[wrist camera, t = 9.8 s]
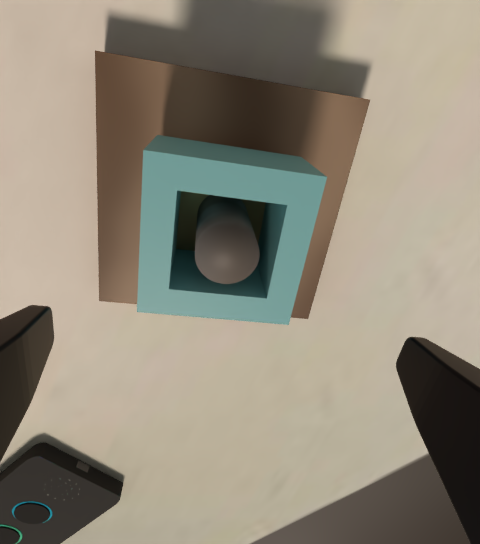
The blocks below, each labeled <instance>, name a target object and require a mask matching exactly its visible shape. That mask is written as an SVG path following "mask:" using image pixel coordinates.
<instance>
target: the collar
mask: <svg viewBox="0 0 480 544" xmlns="http://www.w3.org/2000/svg"><path fill="white" fill-rule="evenodd" d="M326 180H327V176H325V175H324V174H323V173H321V172H320V171H319V170H318V169H316V168H315V167H314V166H312V165H311V164H310V163H309V162H307V161H306V160H305V159H303V158H302V157H299V156H292V155H286V154H279V153H273V152H266V151H260V150H253V149H247V148H240V147H234V146H227V145H221V144H214V143H207V142H201V141H194V140H188V139H181V138H175V137H168V136H162V135H157V136H156V137H155V138H154V139H153V140H152V141H151V142H150V143H149V144H148V145H147V147H146V148H145V149H144V150H143V170H142V195H141V221H140V246H139V272H138V297H137V312H144V313H156V314H167V315H179V316H191V317H203V318H215V319H227V320H239V321H250V322H262V323H274V324H286V325H289V322H290V318H291V314H292V310H293V306H294V302H295V299H296V295H297V291H298V287H299V283H300V279H301V276H302V272H303V268H304V264H305V260H306V256H307V253H308V249H309V245H310V241H311V237H312V233H313V230H314V226H315V222H316V218H317V214H318V210H319V207H320V203H321V199H322V195H323V191H324V187H325V184H326ZM181 191H185V192H192V193H200V194H207V195H215V196H222V197H230V198H237V199H245V200H252V201H260V202H266V205H265V210H264V215H263V220H262V226H261V231H260V236H259V241H258V246H259V252H260V256H259V261H258V264H257V266H256V268H255V270H254V271H253V272H252V273H251V274H250V275H249V276H248V277H247V278H245V279H244V280H242V281H240V282H237V283H232V284H221V283H216V282H214V281H211V280H209V279H208V278H206V277H205V276H204V275H203V274H202V273H201V272H200V270H199V269H198V267H197V265H196V261H195V251H190V250H181V249H176V244H177V232H178V221H179V210H180V198H181Z"/></svg>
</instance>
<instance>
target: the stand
mask: <svg viewBox="0 0 480 544" xmlns="http://www.w3.org/2000/svg"><path fill="white" fill-rule="evenodd" d="M95 73H96V133H97V193H98V253H99V301H106V302H118V303H129V304H137V297H138V272H139V246H140V221H141V195H142V170H143V150H144V149H145V148H146V147H147V145H148V144H149V143H150V142H151V141H152V140H153V139H154V138H155V137H156V136H157V135H162V136H168V137H175V138H181V139H188V140H194V141H201V142H207V143H214V144H221V145H227V146H234V147H240V148H247V149H253V150H260V151H266V152H273V153H279V154H286V155H292V156H299V157H302V158H303V159H305V160H306V161H307V162H309V163H310V164H311V165H312V166H314V167H315V168H316V169H318V170H319V171H320V172H321V173H323V174H324V175H325V176H327V180H326V184H325V187H324V191H323V195H322V199H321V203H320V207H319V210H318V214H317V218H316V222H315V226H314V230H313V233H312V237H311V241H310V245H309V249H308V253H307V256H306V260H305V264H304V268H303V272H302V276H301V279H300V283H299V287H298V291H297V295H296V299H295V302H294V306H293V310H292V314H291V317H293V318H304V319H308V317H309V313H310V310H311V306H312V303H313V299H314V296H315V292H316V289H317V285H318V282H319V278H320V275H321V271H322V268H323V264H324V261H325V257H326V254H327V250H328V247H329V243H330V240H331V236H332V233H333V229H334V225H335V222H336V218H337V215H338V211H339V208H340V204H341V201H342V197H343V194H344V190H345V187H346V183H347V180H348V176H349V173H350V169H351V166H352V162H353V159H354V155H355V152H356V148H357V145H358V141H359V138H360V134H361V131H362V127H363V123H364V120H365V116H366V113H367V109H368V106H369V102H370V100H368V99H363V98H357V97H351V96H346V95H340V94H335V93H329V92H324V91H318V90H312V89H307V88H301V87H296V86H290V85H284V84H279V83H273V82H268V81H262V80H257V79H251V78H245V77H240V76H234V75H229V74H223V73H218V72H212V71H206V70H201V69H195V68H190V67H184V66H178V65H173V64H167V63H162V62H156V61H151V60H145V59H139V58H134V57H128V56H123V55H117V54H112V53H106V52H100V51H95ZM265 205H266V202H260V201H252V200H245V199H237V198H230V197H222V196H215V195H207V194H200V193H192V192H185V191H181V198H180V210H179V221H178V232H177V244H176V249H181V250H190V251H195V261H196V265H197V267H198V269H199V270H200V272H201V273H202V274H203V275H204V276H205V277H206V278H208V279H209V280H211V281H214V282H216V283H221V284H232V283H237V282H240V281H242V280H244V279H245V278H247V277H248V276H249V275H250V274H251V273H252V272H253V271H254V270H255V268H256V266H257V264H258V261H259V256H260V252H259V246H258V241H259V236H260V231H261V226H262V220H263V215H264V210H265Z"/></svg>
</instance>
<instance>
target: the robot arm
mask: <svg viewBox="0 0 480 544" xmlns="http://www.w3.org/2000/svg"><path fill="white" fill-rule="evenodd" d="M53 341H54V329H53V317H52V311H51V308H50V307H48V306H37V305H31V306H28V307H26V308H24V309H22V310H20V311H17V312H15V313H13V314H11V315H9V316H7V317H5V318H2V319H0V461H1V460H2V458H3V456H4V454H5V452H6V450H7V448H8V446H9V444H10V442H11V440H12V438H13V436H14V435H15V433H16V431H17V429H18V427H19V425H20V423H21V421H22V419H23V417H24V415H25V413H26V411H27V409H28V407H29V405H30V403H31V401H32V398H33V396H34V393H35V391H36V388H37V385H38V383H39V380H40V377H41V375H42V372H43V369H44V367H45V364H46V361H47V359H48V356H49V354H50V351H51V348H52V345H53ZM396 368H397V372H398V375H399V378H400V381H401V384H402V387H403V390H404V393H405V395H406V398H407V401H408V404H409V407H410V410H411V413H412V416H413V418H414V421H415V423H416V426H417V428H418V430H419V432H420V435H421V437H422V439H423V441H424V443H425V446H426V448H427V450H428V452H429V454H430V456H431V459H432V461H433V463H434V465H435V467H436V470H437V472H438V474H439V476H440V478H441V480H442V483H443V485H444V487H445V489H446V491H447V493H448V496H449V498H450V500H451V502H452V504H453V506H454V509H455V511H456V513H457V515H458V517H459V520H460V522H461V524H462V526H463V528H464V531H465V533H466V535H467V537H468V539H469V541H470V544H480V369H479V368H477V367H475V366H473V365H472V364H470V363H468V362H466V361H464V360H463V359H461V358H459V357H457V356H456V355H454V354H452V353H450V352H448V351H447V350H445V349H443V348H441V347H440V346H438V345H436V344H434V343H433V342H431V341H429V340H427V339H425V338H420V337H409V338H407V339H406V341H405V343H404V345H403V347H402V350H401V352H400V354H399V357H398V359H397V362H396Z"/></svg>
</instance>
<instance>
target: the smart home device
mask: <svg viewBox="0 0 480 544" xmlns="http://www.w3.org/2000/svg"><path fill="white" fill-rule="evenodd" d="M122 487H123V483H122V482H120V481H118V480H116V479H114V478H112V477H111V476H109V475H107V474H105V473H103V472H101V471H99V470H97V469H95V468H93V467H91V466H90V465H88V464H86V463H84V462H82V461H80V460H78V459H76V458H74V457H72V456H70V455H69V454H67V453H65V452H63V451H61V450H59V449H57V448H55V447H53V446H51V445H49V444H48V443H39V444H37V445H35V446H33V447H32V448H30V449H29V450H28V451H27V452H26V453H24V454H23V455H22V456H21V457H20V458H18V459H17V460H16V461H15V462H14V463H13V464H11V465H10V466H9V467H8V468H7V469H5V470H4V471H3V472H2V473H1V474H0V544H60V543H62V542H63V541H65V540H66V539H67V538H69V537H70V536H72V535H73V534H75V533H76V532H77V531H79V530H80V529H82V528H83V527H84V526H86V525H87V524H89V523H90V522H92V521H93V520H94V519H96V518H97V517H99V516H100V515H101V514H103V513H104V512H106V511H107V510H109V509H110V508H111V507H113V506H114V505H115V504H117V503H118V501H119V500H120V497H121V492H122Z"/></svg>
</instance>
